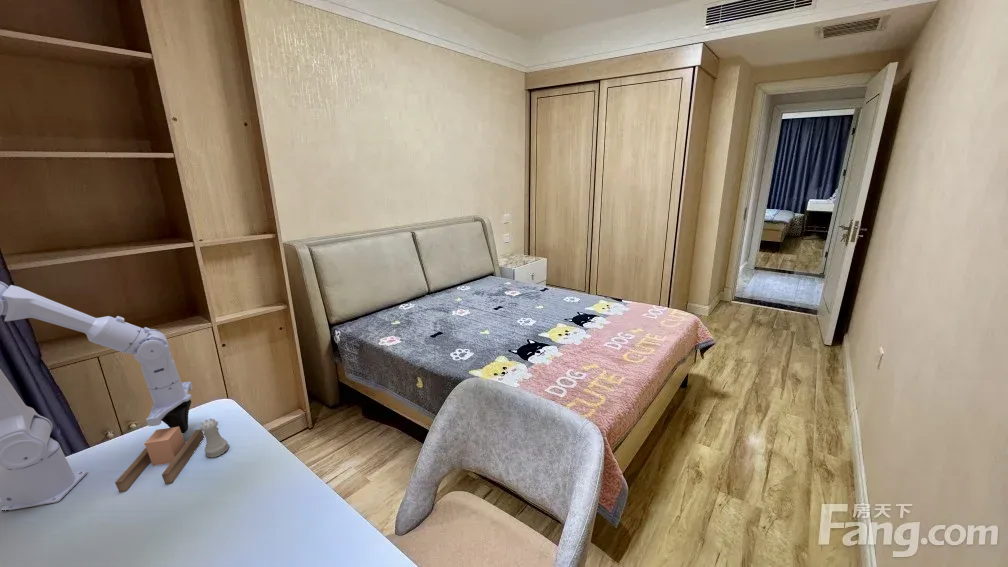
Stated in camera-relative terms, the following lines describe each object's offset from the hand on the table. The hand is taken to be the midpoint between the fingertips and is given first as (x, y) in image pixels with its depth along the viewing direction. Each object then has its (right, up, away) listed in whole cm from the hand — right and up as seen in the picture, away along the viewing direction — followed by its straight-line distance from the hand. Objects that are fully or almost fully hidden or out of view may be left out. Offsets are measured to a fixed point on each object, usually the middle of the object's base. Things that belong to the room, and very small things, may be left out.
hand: (182, 431), depth 96 cm
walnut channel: (+2, -4, -7) cm, 8 cm away
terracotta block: (+1, -4, -5) cm, 6 cm away
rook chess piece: (+11, -3, -4) cm, 12 cm away
